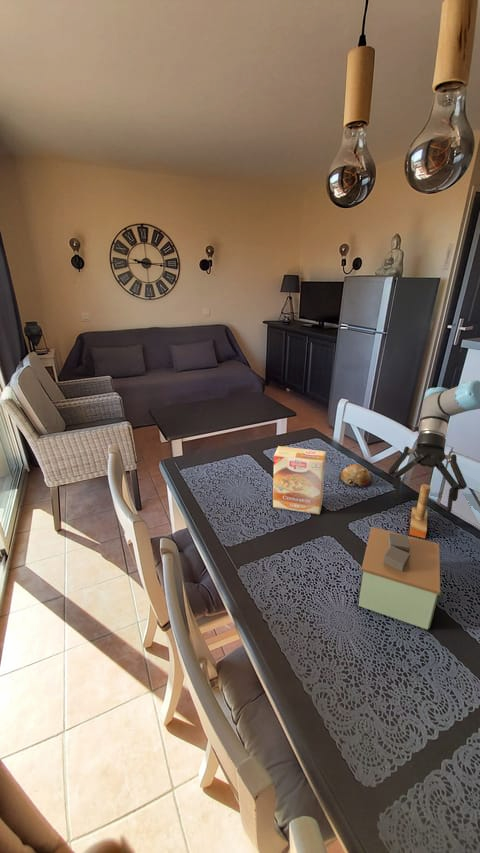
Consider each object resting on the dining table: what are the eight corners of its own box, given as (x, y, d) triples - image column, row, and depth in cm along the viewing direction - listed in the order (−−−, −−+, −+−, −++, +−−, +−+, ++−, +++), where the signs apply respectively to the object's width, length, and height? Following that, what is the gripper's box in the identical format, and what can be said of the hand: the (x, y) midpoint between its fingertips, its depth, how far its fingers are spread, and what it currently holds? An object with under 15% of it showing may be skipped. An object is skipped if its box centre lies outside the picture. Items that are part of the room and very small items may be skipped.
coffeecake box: (272, 509, 115) (273, 455, 108) (277, 496, 122) (277, 445, 114) (320, 516, 111) (324, 461, 103) (322, 503, 117) (326, 450, 110)
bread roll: (339, 492, 129) (341, 480, 123) (340, 468, 136) (342, 456, 130) (369, 495, 127) (372, 483, 121) (368, 471, 133) (371, 458, 127)
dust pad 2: (408, 560, 78) (410, 553, 77) (402, 571, 75) (403, 564, 74) (390, 552, 80) (391, 545, 79) (383, 562, 77) (384, 555, 77)
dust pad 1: (406, 542, 83) (407, 535, 82) (408, 554, 79) (410, 547, 79) (387, 539, 84) (388, 532, 83) (389, 551, 80) (390, 544, 80)
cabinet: (433, 583, 87) (443, 544, 82) (433, 635, 75) (445, 593, 70) (365, 563, 93) (371, 526, 88) (356, 608, 81) (361, 568, 76)
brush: (410, 516, 110) (418, 476, 105) (425, 519, 109) (433, 479, 103) (408, 536, 102) (417, 494, 96) (424, 540, 100) (434, 497, 95)
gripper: (477, 448, 106) (469, 518, 100) (387, 434, 117) (375, 497, 111) (483, 439, 100) (476, 514, 94) (387, 425, 110) (375, 492, 104)
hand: (421, 505), depth 102 cm, fingers open, 13 cm apart
